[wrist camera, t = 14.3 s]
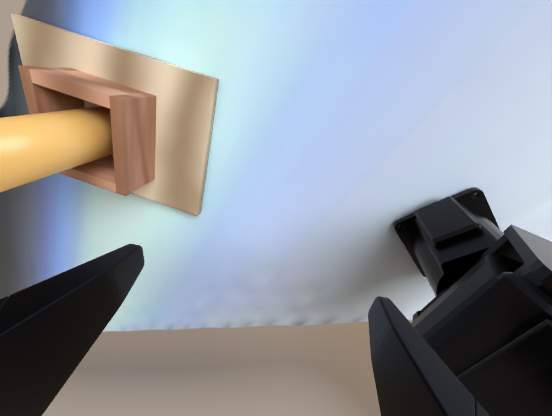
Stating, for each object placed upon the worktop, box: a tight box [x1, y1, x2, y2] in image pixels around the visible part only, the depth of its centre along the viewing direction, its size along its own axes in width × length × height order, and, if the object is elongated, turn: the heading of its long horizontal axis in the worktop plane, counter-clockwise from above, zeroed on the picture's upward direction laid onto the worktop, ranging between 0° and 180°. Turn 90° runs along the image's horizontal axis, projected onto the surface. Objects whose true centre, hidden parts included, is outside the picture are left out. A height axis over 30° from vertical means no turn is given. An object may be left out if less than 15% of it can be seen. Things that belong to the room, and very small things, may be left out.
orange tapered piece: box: [0, 106, 113, 192], centre depth 14 cm, size 4×4×15 cm
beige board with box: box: [11, 14, 219, 216], centre depth 19 cm, size 16×12×4 cm
